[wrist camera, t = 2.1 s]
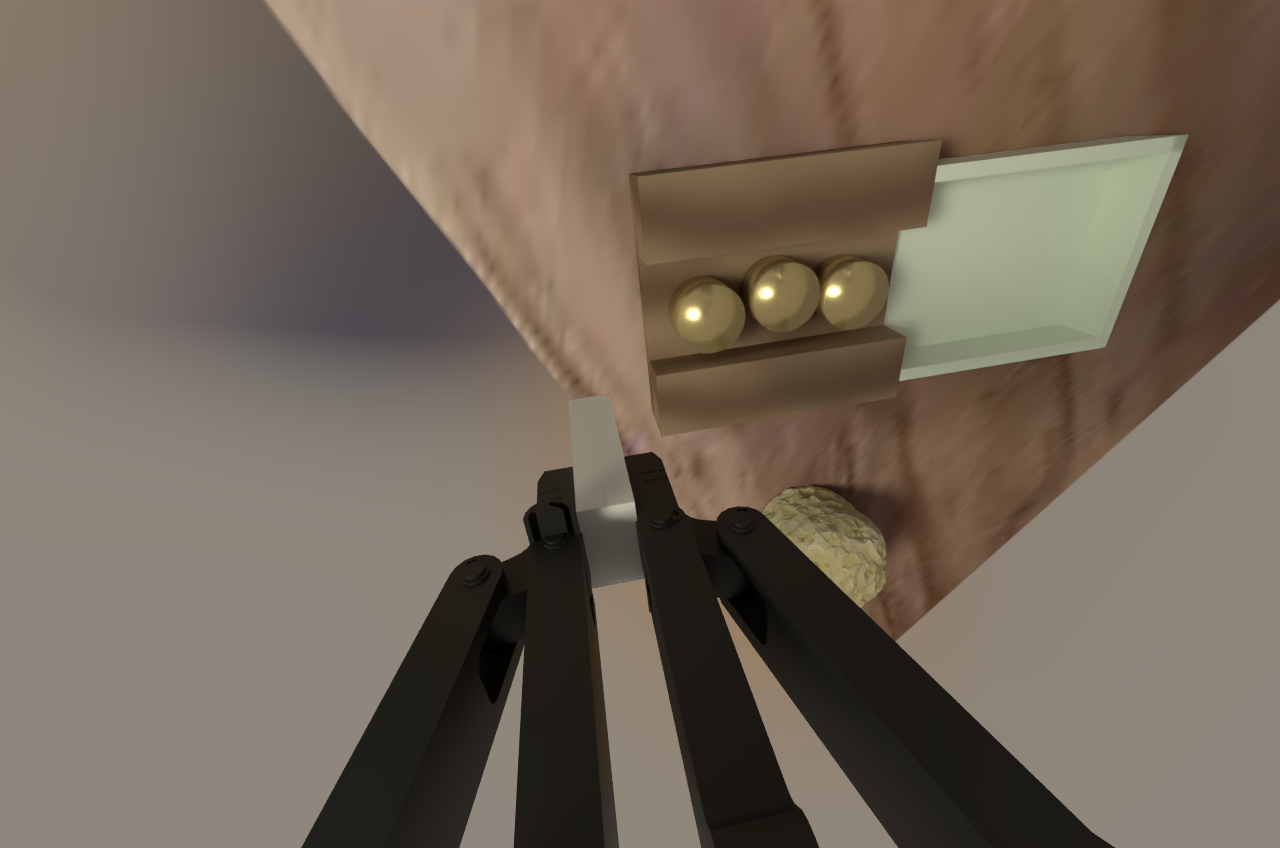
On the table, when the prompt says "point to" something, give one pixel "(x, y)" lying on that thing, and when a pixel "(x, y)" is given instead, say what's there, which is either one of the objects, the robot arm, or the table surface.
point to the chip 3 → (850, 291)
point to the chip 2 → (780, 293)
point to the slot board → (762, 226)
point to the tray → (1026, 252)
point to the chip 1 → (706, 314)
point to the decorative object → (833, 538)
